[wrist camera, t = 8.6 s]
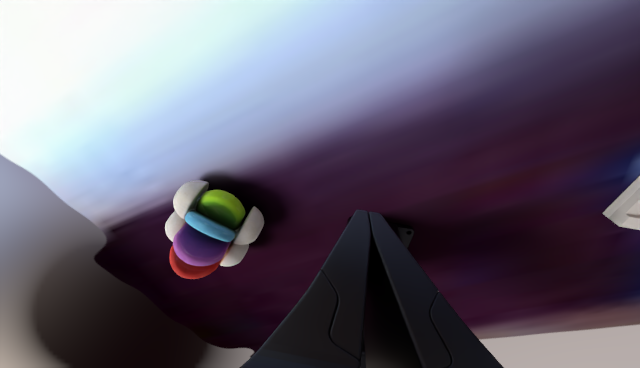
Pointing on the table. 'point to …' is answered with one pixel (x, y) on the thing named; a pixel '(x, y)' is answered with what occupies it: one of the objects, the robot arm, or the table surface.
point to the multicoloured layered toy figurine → (209, 230)
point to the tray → (626, 207)
